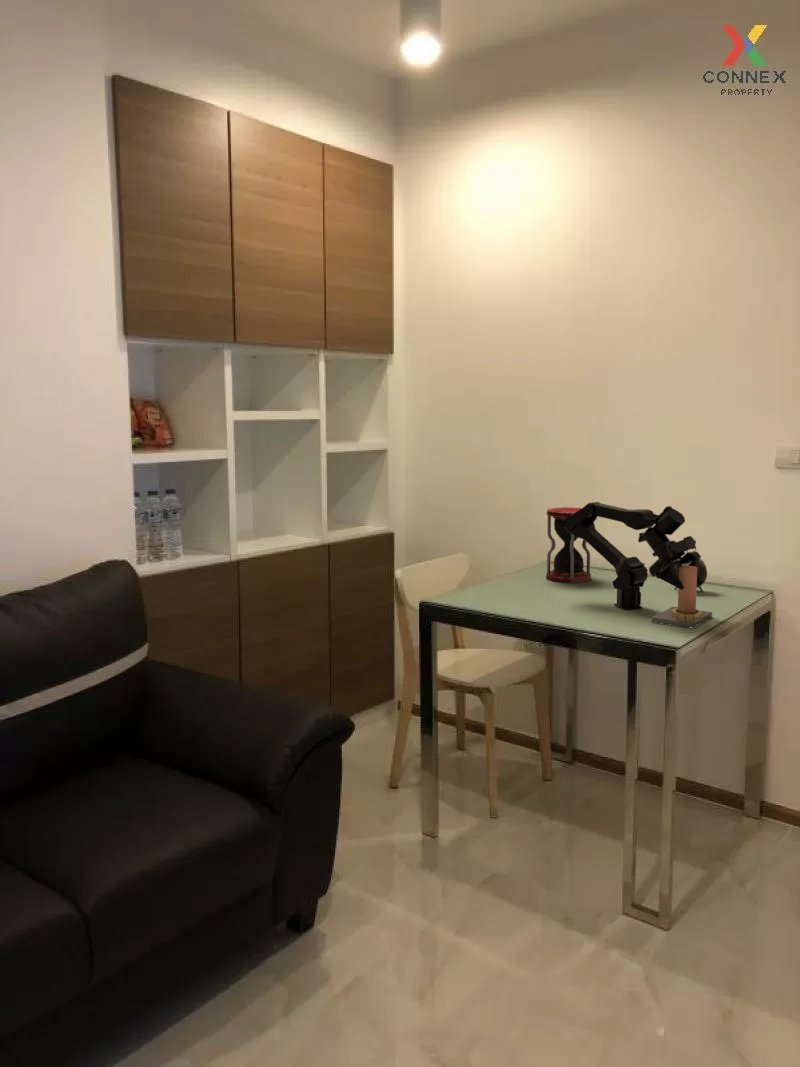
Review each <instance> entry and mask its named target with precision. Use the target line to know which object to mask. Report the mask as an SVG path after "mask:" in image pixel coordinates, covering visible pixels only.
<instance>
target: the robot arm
mask: <svg viewBox="0 0 800 1067" xmlns="http://www.w3.org/2000/svg"><path fill="white" fill-rule="evenodd" d="M581 508H582V509H580V510H579V511H577V512H576V513H574V514H573V515H571V516H568V517H567V518H566V520H565V529H566V530H567V531H568V532H569V533H571V534H572V535H574V536H576V537H578V538H577V539H582V540H583V539H584V540H585V541H586V544H588V545H589V546H590V547H591V548H593V549H594V550H595V551H596V552H597V553H598V554H599V555H600V556H602V557H603V558H604V559H605V561H607V562H608V563H609V564H610V565H611V566H613V568H614V570H615V574H616V576H617V577H616V578H615V579H614V580H613V581H612V586H613V589H615V590H616V602H615V603H614V604H613V605H614V606H615V607H616V608H619V609H621V610H635V609H643V606H642V592H641V588H642V587H644V585H645V582H646V581H647V580H648V576H649V575H648V571H649V574H650V575H651V577H652V578H653V577H656V579H660V580H662V581H664V582H666V583H667V584H669V585H671V586H673V587H674V588H676V587H677V589H678V588H679V589H680V590H683V589H684V586H683V584H682V582H681V581H680V579H679V578H678V576H677V574H676V573H675V566H678V567H680V566H694V567H697V566H698V562H699V561H700V559H702V556H701V554H699V552H698V551H695V546H696V544H697V540H695V539H694V538H693V537H692V536H691V535H688V536H685V537H683V539H681V540H678V541H675V540H671V539H669V537H668V536H672V535H673V534H674V533H675V532H676V531H677V530H678V529H679V528H680V527H681V526H683V524H684V523H685V522H686V519H685V516H684V515H683V513H681V512H680V511H678V510H677V509H675V508H673V507H672V506H671V505H669V506H665V508H664V509H663V510H662V512H661V513H659V514H656V513H654V511H652V510H651V509H648V508H645V509H640V508H639V509H627V508H623V507H618V506H615V505H610V504H605V503H601V502H599V501H595V502H593V501H592V502H587V504H585V505H584V506H583V507H581ZM598 517H599V518H603V519H608V520H611V521H615V522H619V523H623V524H624V525H625V526H626V527H629V528H630V529H632V530H635V531H638V530H639V531H640V530H645V529H646V530H645V531H644V532H639V533H638V534H639V535H638V539H637V541H638V543H642V542H643V543H644V542H646V543H647V544H648V546H649V547H650V549H651V550H652V554H651V555H652V556H653V557H657V559H656V560H655V562H654V563H652V564H651V565H650V566H649V567H648V568H647V567H646V566H645V563H644V562H642V561H641V560H640V559H639V558H638V557H637V556H631V557H630V556H629V557H627V556H625V554H624V553H622V551H620V550H619V549H618V548H617V547H616V546H614V544H612V543H611V541H609V540H608V539H607V538H606V537H604V535H602V533H600V532H599V531H598V530H597V529H596V526H595V521H596V520H597V518H598ZM667 535H668V536H667ZM689 550H693V551H689ZM687 551H688V552H687ZM682 556H683V557H682ZM681 557H682V558H681ZM697 584H698V585H701V584H702V580H701V577H700V574H699V571H698V567H697ZM702 585H703V584H702ZM702 585H701V586H702Z"/></svg>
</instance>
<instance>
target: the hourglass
mask: <svg viewBox="0 0 800 1067" xmlns="http://www.w3.org/2000/svg"><path fill="white" fill-rule="evenodd" d="M582 508H583V507H571V506H570V507H567V506H565V507H552V508H547V509H546V515H547V537H548V538H549V540H550V543H551V547H550V549H549V550H548V552H547V555H546V572H545V578H546V579H547V580H548V579H549V580H548V581H551V580H553V581H552V582H556V581H558V582H557V583H570V582H574V583H584V581H585V582H588V581H590V580H591V579H592V573H591V553H590V550H589V549H588V547H587V542H586V541H585V540H584V539H582V544H581V546H582V549H583V550H584V551H585V554H586V570H584V565H585V563H584V558H583V556H582V554H581V553H580V552H579V551H578V549H576V547H575V546H574V545H575V544H574V543H575V542H576V541H577V540H578V539H579V538H578V537H576V536H574V535H572V534H571V533H569V532H568V531H567V530H566V529H565V520H566V518H567V517H568V516H571V515H573V514H574V513H576V512H577V511H579V510H580V509H582ZM552 519H554V522H553V523H554V524H553V525H554V526H553V527H554V528H553V529H554V531H555V532H556V535H557V536H558V538H560V539H561V541H562V542H563V547H562V548H561V549H559V551H558V552H557V553H556V554H555V556H554V558H553V569H552V570H551V554H552V552H553V551H554V550H555V549H556V541H555V539H554V538H553V536H552V534H551V532H552V526H551V525H552V524H551V523H552Z"/></svg>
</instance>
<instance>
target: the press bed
mask: <svg viewBox="0 0 800 1067" xmlns="http://www.w3.org/2000/svg"><path fill="white" fill-rule="evenodd" d="M710 617H711V618H713V612H712V611H708V610H707V611H706V610H700V609H698V608H696V614H683V613H678V606H671V607H669V608H667V609H666V610H663V611H662V612H660V613H657V614H656V615H653V616H652V617H651V623H652V622H657V623H656V624H659V623H663V624H662V625H665V624H671V625H670V626H672V625H677V626H676V627H679V626H685V627H692V628H693V627H694V626H696V625H698V624H699V625H701V624H702V622H703V623H704V621H705V620H706V621H708V620H709V618H710ZM711 618H710V619H711ZM707 619H708V620H707ZM706 621H705V622H706ZM700 623H701V624H700ZM699 625H698V626H699ZM685 627H684V628H685ZM696 627H697V626H696ZM692 628H691V629H692ZM694 628H695V627H694ZM694 628H693V629H694Z"/></svg>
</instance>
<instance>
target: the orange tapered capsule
mask: <svg viewBox="0 0 800 1067" xmlns="http://www.w3.org/2000/svg"><path fill="white" fill-rule="evenodd" d="M679 579H680V581H681V582H682V584H683V586H684V589H683V590H680V589H679V588H677V590H678V592H677V593H678V595H677V607H678V613H683V614H696V609H697V590H698V588H697V567H694V566H680V567H679Z"/></svg>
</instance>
